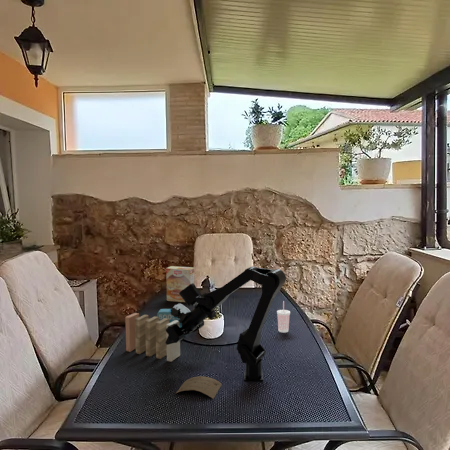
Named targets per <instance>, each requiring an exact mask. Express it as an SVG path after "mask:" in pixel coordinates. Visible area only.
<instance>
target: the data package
mask: <svg viewBox="0 0 450 450" xmlns="http://www.w3.org/2000/svg"><path fill="white" fill-rule="evenodd" d="M171 309H172V308H160V309H159V310H158V312H157V314H156V317H159V321H160V320H162V319H164V318H167V319H169V323H171V322H173V321H175V320H178V321H179V320H180V319H179V318H177V317H174V316H173V315H171ZM181 324H182V323H180V328H181V327H182V325H181ZM184 337H186V335H184Z"/></svg>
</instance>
